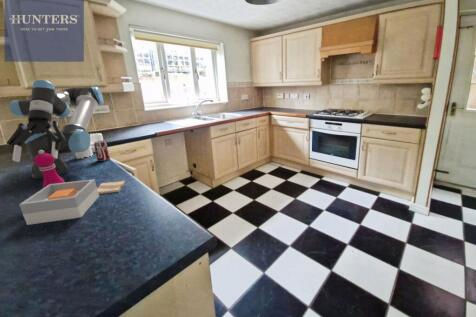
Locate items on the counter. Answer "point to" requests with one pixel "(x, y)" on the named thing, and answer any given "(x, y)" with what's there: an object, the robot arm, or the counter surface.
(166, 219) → the counter surface
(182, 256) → the counter surface
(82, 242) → the counter surface
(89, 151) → the bracket
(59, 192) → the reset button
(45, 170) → the pepper mill
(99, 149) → the soda can
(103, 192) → the cork mat
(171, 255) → the counter surface
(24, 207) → the grey open box
